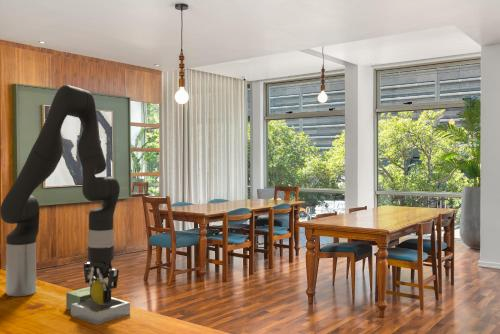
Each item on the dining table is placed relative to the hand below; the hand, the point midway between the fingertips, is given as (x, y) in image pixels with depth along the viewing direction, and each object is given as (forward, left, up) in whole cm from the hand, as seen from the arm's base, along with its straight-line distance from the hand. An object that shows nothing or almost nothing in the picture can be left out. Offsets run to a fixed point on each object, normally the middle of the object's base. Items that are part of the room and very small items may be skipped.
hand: (100, 300), depth 152 cm
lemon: (0, 0, -2) cm, 2 cm away
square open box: (-4, 0, -4) cm, 6 cm away
